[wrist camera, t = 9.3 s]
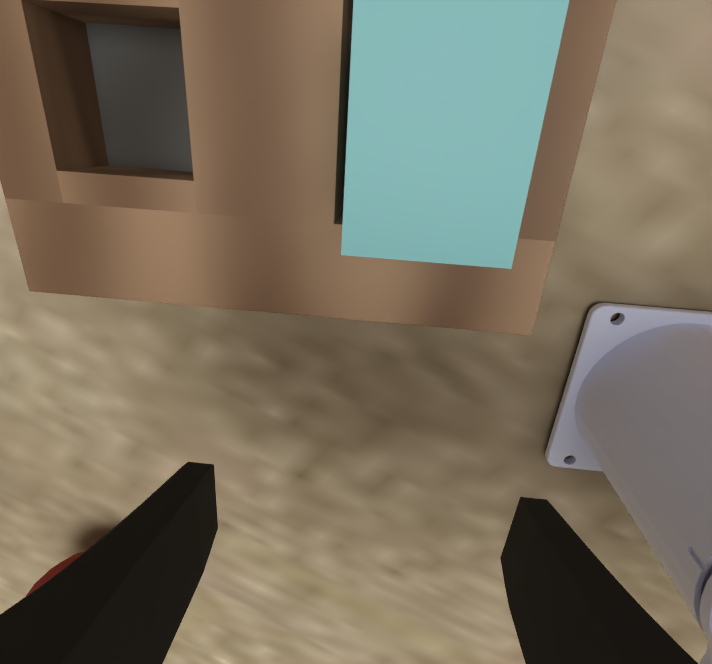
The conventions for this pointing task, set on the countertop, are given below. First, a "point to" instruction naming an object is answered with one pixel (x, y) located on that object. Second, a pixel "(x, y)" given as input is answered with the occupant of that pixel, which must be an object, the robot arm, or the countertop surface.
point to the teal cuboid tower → (445, 126)
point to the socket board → (238, 162)
